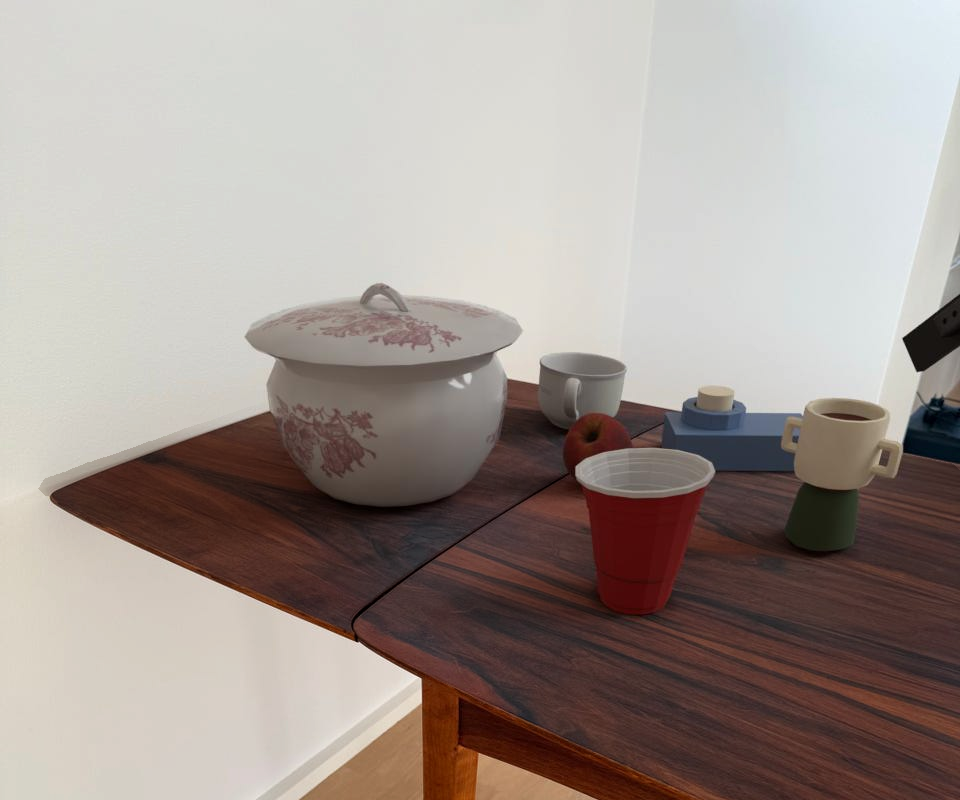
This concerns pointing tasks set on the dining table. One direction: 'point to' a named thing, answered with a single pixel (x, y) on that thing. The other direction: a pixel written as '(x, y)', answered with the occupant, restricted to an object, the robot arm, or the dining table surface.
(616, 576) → the plastic cup
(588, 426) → the apple
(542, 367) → the teacup
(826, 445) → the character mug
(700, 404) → the button
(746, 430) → the blue rectangular block
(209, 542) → the dining table surface
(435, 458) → the chamber pot
